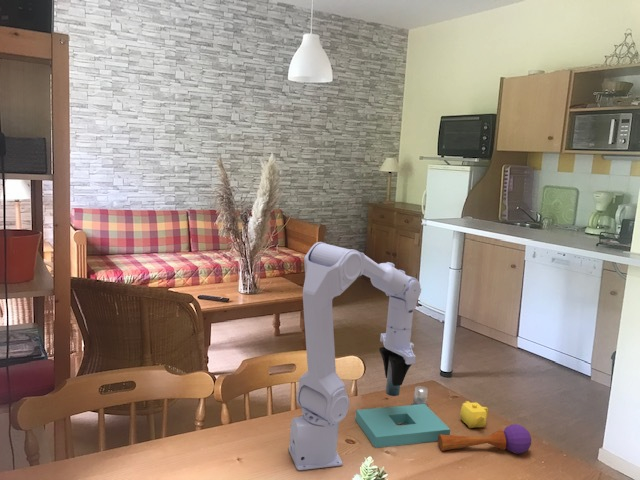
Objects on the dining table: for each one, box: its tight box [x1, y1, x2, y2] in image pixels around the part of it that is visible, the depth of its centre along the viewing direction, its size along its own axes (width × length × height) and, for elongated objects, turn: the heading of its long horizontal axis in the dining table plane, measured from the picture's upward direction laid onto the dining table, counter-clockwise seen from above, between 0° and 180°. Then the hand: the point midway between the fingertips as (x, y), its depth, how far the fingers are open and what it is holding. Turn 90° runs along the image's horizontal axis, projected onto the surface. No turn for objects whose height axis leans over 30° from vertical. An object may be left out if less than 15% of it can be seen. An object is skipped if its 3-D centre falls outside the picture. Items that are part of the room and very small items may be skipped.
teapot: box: [459, 400, 489, 429], centre depth 125 cm, size 8×6×5 cm
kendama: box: [437, 423, 532, 455], centre depth 115 cm, size 6×6×20 cm
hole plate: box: [354, 404, 451, 449], centre depth 121 cm, size 18×12×2 cm, turn 107°
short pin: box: [412, 385, 429, 406], centre depth 133 cm, size 3×3×4 cm
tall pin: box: [385, 354, 401, 397], centre depth 123 cm, size 3×3×9 cm
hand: (393, 381), depth 123 cm, fingers closed on tall pin, 3 cm apart
